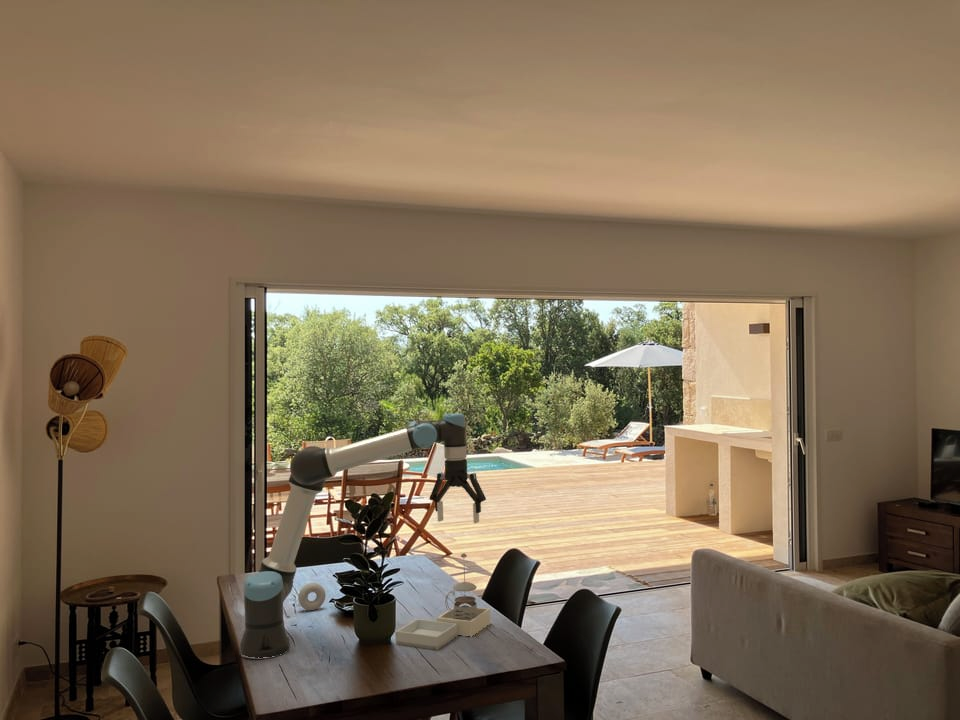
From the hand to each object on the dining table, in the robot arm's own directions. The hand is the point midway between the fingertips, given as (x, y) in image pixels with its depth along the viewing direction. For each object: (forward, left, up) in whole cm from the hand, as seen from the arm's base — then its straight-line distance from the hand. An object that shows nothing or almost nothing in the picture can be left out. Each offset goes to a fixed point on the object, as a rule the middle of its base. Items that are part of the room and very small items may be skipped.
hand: (458, 521), depth 257 cm
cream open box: (-1, -2, -35) cm, 35 cm away
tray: (-15, +5, -35) cm, 39 cm away
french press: (-1, -1, -36) cm, 36 cm away
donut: (-3, +61, -36) cm, 70 cm away
